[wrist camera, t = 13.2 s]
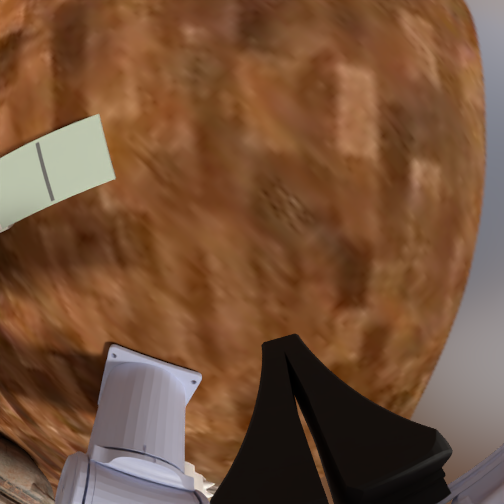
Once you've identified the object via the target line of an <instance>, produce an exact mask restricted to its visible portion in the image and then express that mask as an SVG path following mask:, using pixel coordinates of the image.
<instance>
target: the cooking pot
mask: <svg viewBox="0 0 504 504" xmlns="http://www.w3.org/2000/svg"><path fill="white" fill-rule="evenodd" d="M0 503H1V504H55V500H54V496H53V490H52V487H51V485H50V483H49V481H48V479H47V478H46V476H45V475H44V474H43V473H42V471H41V470H40V469H39V468H38V467H37V465H36V464H35V463H34V462H33V461H32V459H31V458H30V456H29V455H28V454H27V453H26V452H25V451H24V450H22V449H21V448H20V447H18V446H17V445H15V444H14V443H12V442H10V441H8V440H6V439H4V438H0Z"/></svg>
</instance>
